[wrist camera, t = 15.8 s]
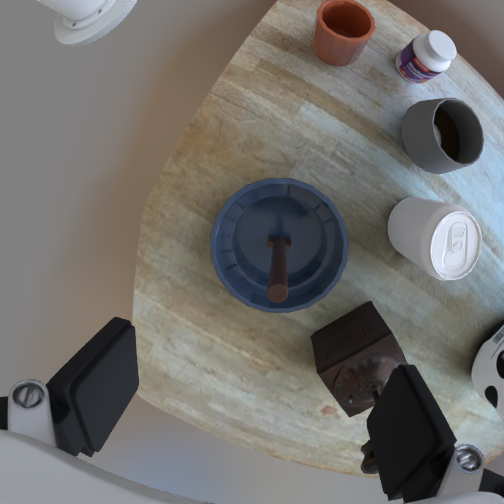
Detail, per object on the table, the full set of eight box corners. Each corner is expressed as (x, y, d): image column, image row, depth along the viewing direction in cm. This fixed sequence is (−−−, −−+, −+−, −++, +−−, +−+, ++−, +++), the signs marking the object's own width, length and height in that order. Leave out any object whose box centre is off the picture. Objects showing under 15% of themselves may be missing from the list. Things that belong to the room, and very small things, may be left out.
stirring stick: (267, 242, 37) (255, 299, 19) (269, 231, 36) (258, 280, 19) (289, 246, 37) (296, 306, 19) (291, 235, 36) (300, 287, 19)
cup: (400, 179, 34) (437, 180, 24) (382, 111, 32) (412, 91, 22) (454, 168, 32) (496, 168, 22) (437, 104, 30) (475, 89, 20)
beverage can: (383, 255, 36) (421, 286, 25) (386, 195, 34) (429, 203, 23) (432, 254, 35) (478, 282, 24) (436, 198, 33) (488, 208, 22)
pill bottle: (393, 77, 30) (423, 52, 21) (395, 47, 29) (422, 18, 19) (427, 90, 30) (462, 71, 20) (427, 60, 28) (459, 37, 19)
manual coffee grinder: (304, 337, 40) (314, 429, 23) (371, 298, 38) (420, 374, 21) (348, 398, 43) (366, 482, 25) (405, 367, 40) (445, 443, 23)
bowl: (198, 224, 38) (184, 233, 32) (293, 155, 34) (295, 150, 29) (266, 312, 40) (263, 334, 34) (358, 252, 37) (371, 265, 31)
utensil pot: (300, 39, 30) (304, 10, 22) (337, 20, 29) (348, -9, 21) (332, 73, 31) (344, 49, 23) (368, 53, 30) (386, 29, 22)
